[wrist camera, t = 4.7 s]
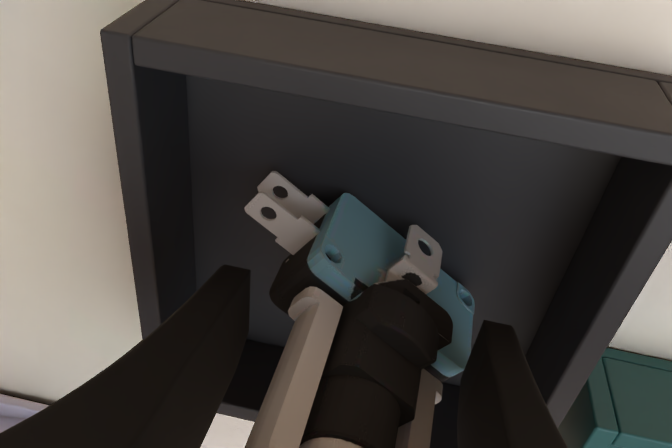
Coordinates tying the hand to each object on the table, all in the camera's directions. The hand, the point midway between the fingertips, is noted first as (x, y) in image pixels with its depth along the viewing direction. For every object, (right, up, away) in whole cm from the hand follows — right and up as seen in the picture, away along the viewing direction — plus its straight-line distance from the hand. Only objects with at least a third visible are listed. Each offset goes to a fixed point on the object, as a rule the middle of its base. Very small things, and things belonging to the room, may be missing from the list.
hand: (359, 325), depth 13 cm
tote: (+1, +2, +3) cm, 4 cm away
